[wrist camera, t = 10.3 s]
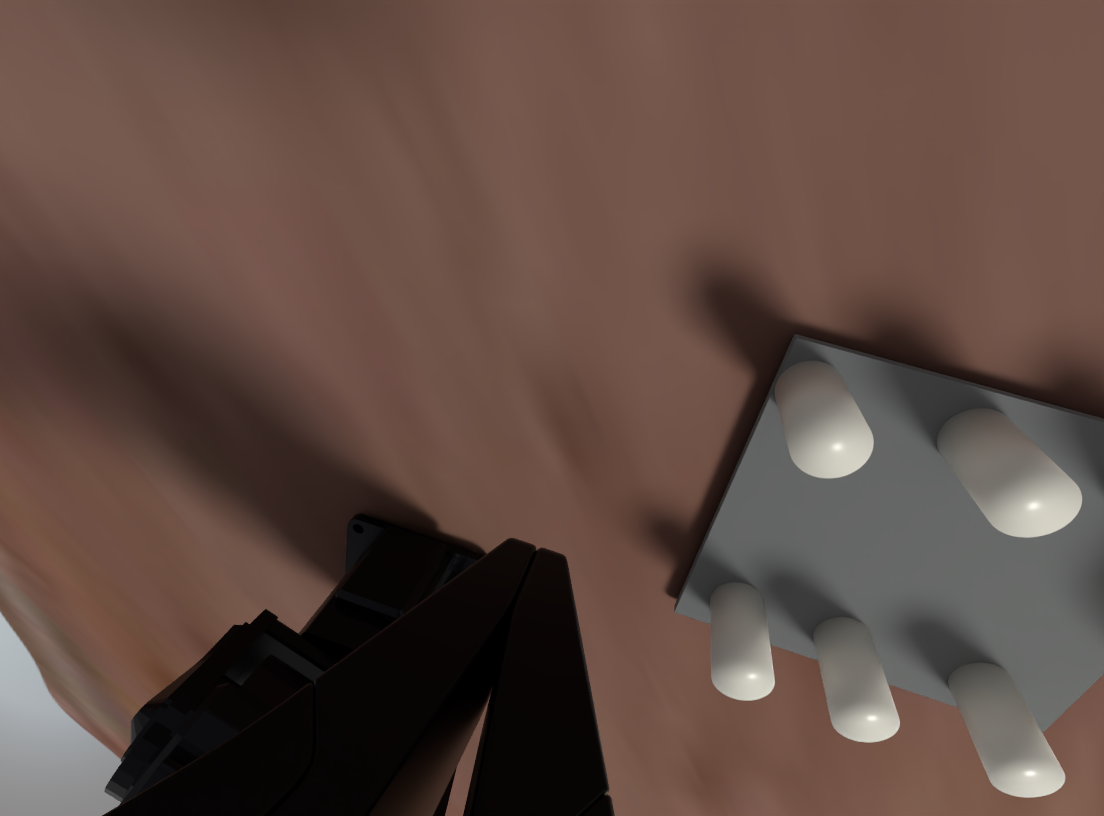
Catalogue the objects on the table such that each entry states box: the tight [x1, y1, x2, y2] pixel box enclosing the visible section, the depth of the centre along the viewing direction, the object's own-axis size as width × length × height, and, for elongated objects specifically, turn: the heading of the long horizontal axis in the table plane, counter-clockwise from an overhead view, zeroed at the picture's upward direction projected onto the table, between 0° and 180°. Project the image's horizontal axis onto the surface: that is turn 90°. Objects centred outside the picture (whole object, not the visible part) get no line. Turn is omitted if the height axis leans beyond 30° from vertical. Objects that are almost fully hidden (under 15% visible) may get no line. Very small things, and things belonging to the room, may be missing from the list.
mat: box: [674, 334, 1104, 733], centre depth 20 cm, size 12×14×1 cm
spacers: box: [710, 361, 1082, 797], centre depth 18 cm, size 11×12×4 cm
